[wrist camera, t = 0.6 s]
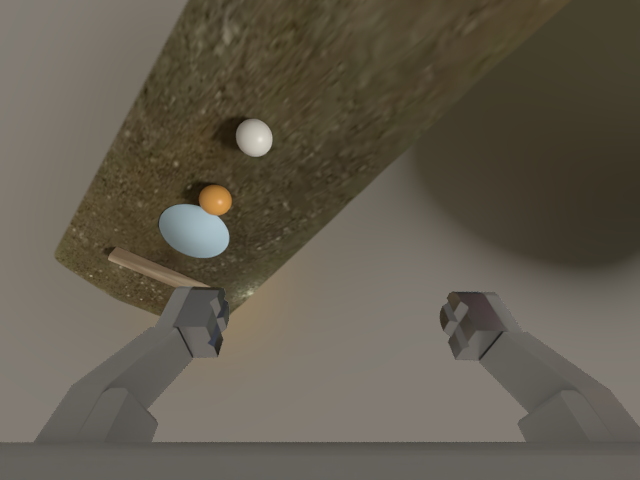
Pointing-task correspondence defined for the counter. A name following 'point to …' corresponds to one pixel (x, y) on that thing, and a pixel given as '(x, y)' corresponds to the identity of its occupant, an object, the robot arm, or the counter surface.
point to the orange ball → (215, 200)
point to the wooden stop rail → (151, 269)
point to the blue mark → (193, 231)
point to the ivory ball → (254, 137)
